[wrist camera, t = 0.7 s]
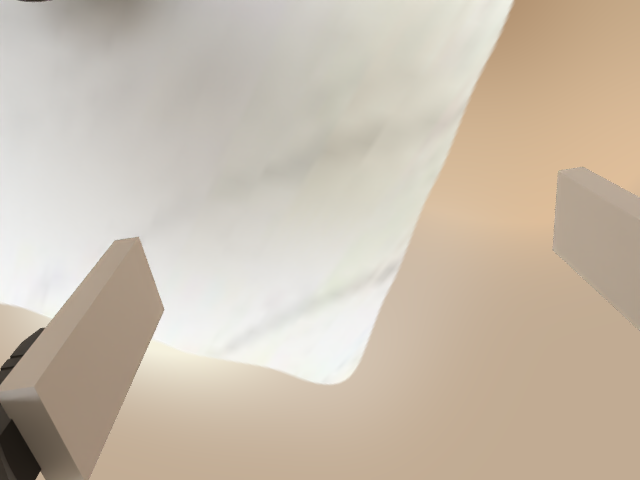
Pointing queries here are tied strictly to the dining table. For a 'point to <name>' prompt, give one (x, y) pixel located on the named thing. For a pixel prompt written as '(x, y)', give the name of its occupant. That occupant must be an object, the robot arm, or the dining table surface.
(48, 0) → the drinking cup
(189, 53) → the dining table surface
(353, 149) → the dining table surface
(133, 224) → the dining table surface
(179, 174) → the dining table surface
